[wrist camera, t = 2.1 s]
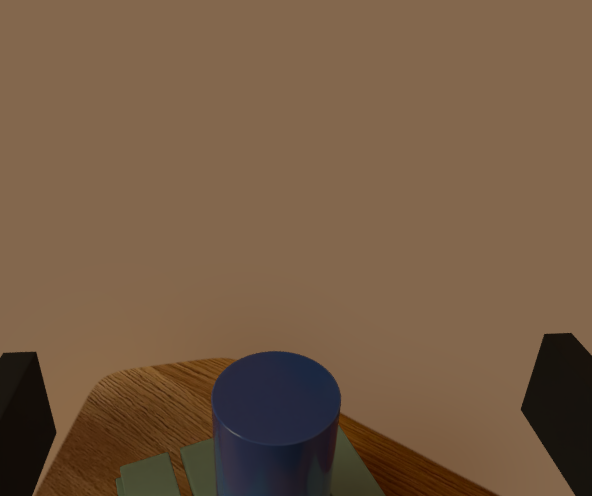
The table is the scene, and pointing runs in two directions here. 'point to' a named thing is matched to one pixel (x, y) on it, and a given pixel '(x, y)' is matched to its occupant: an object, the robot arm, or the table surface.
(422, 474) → the table surface
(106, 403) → the table surface
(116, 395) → the table surface
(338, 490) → the rack
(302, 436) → the navy blue cylinder
